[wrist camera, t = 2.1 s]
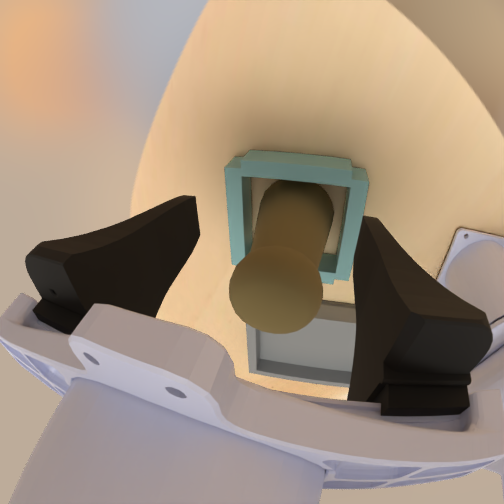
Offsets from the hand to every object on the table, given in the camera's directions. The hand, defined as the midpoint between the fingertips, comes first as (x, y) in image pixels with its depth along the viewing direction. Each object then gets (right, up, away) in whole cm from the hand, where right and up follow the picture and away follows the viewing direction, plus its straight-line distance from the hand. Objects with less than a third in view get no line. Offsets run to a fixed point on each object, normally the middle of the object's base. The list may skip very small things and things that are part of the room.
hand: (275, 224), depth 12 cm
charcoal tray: (+7, -11, +20) cm, 24 cm away
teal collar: (+3, +2, +11) cm, 12 cm away
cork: (+3, +2, +11) cm, 12 cm away
